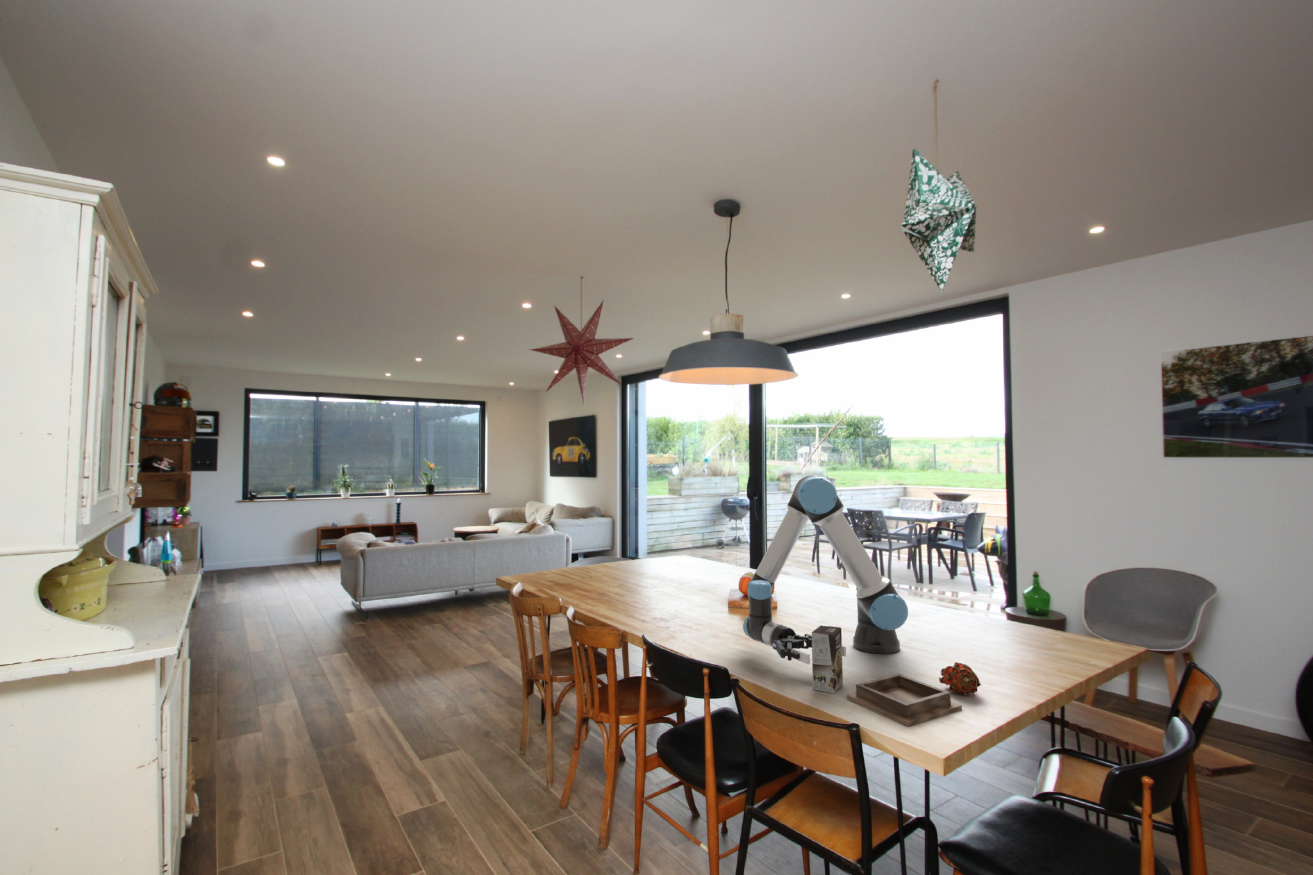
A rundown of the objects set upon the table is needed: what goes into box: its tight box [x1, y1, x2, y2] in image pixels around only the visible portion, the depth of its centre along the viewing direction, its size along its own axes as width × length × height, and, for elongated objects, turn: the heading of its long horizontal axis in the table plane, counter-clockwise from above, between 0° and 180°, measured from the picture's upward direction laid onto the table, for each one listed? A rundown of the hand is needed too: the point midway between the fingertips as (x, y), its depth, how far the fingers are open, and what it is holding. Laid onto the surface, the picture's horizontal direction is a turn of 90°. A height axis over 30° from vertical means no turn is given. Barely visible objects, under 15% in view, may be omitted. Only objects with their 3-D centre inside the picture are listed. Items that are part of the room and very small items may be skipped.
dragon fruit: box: [938, 661, 982, 696], centre depth 168 cm, size 8×8×12 cm
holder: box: [845, 673, 963, 727], centre depth 160 cm, size 20×20×4 cm
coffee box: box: [811, 625, 844, 694], centre depth 174 cm, size 9×6×16 cm
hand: (827, 655), depth 173 cm, fingers open, 13 cm apart
